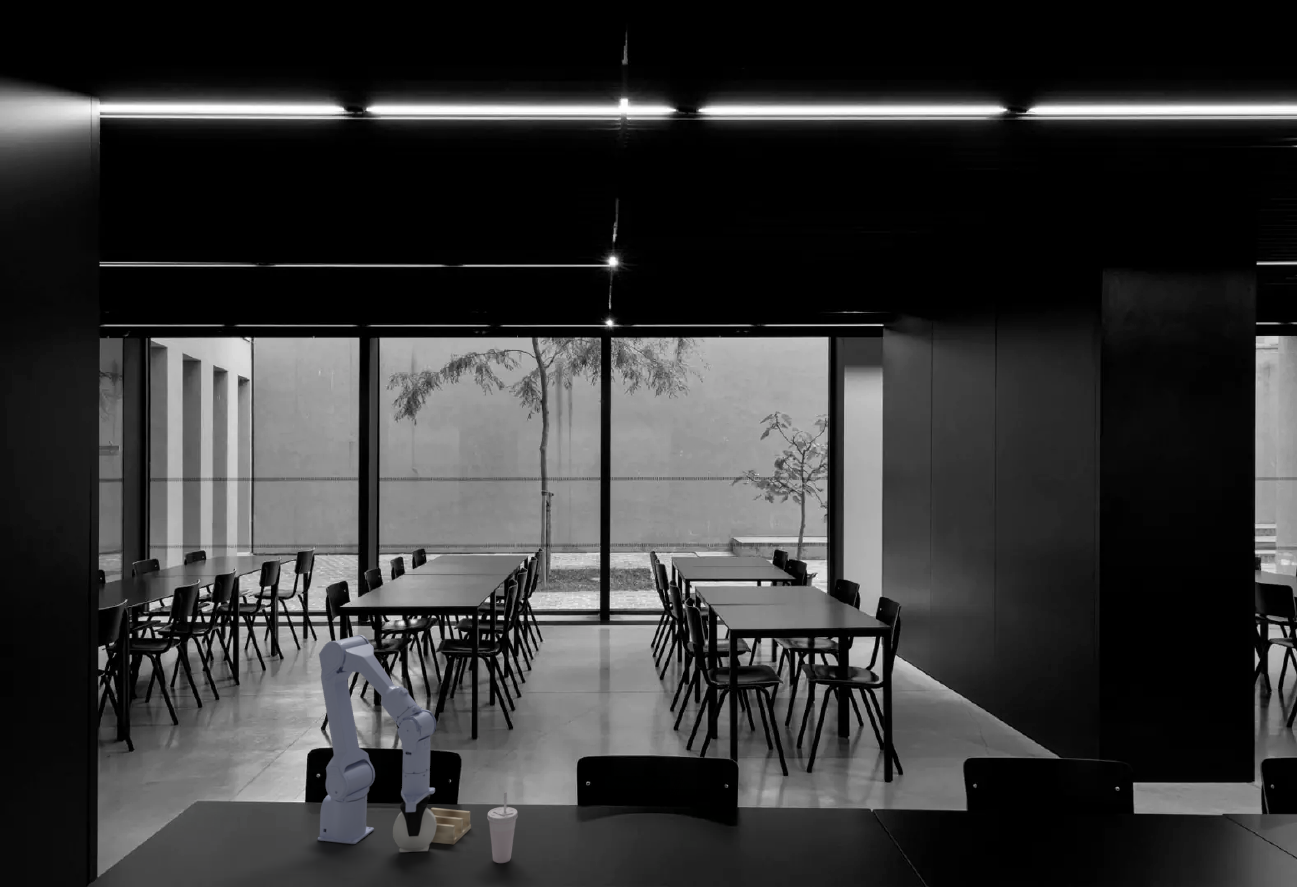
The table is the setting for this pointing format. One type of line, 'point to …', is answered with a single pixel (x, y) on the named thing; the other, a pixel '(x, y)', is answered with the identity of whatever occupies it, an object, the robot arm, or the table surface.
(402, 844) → the plate
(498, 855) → the smoothie
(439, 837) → the rack
